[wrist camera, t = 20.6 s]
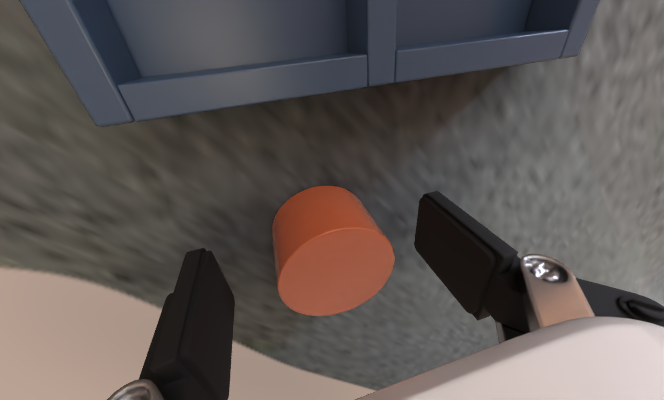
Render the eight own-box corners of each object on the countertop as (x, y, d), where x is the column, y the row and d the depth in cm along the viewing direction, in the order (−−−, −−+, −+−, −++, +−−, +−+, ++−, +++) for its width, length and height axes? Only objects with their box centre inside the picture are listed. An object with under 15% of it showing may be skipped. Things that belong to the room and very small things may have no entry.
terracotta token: (363, 175, 11) (398, 213, 8) (365, 249, 13) (392, 296, 10) (260, 197, 10) (263, 248, 7) (282, 272, 12) (290, 329, 10)
